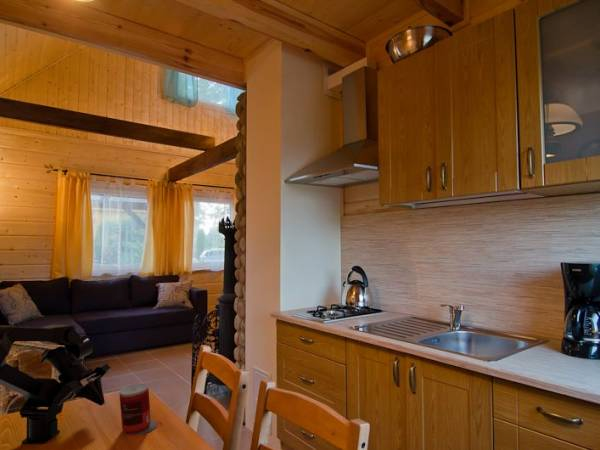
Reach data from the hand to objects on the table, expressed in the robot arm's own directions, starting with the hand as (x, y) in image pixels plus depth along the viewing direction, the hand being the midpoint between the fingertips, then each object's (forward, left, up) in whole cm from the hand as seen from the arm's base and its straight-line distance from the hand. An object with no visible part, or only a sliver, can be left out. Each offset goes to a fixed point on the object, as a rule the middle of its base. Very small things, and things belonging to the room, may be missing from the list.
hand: (103, 404), depth 111 cm
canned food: (+10, 0, -6) cm, 12 cm away
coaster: (+12, 0, -7) cm, 14 cm away
